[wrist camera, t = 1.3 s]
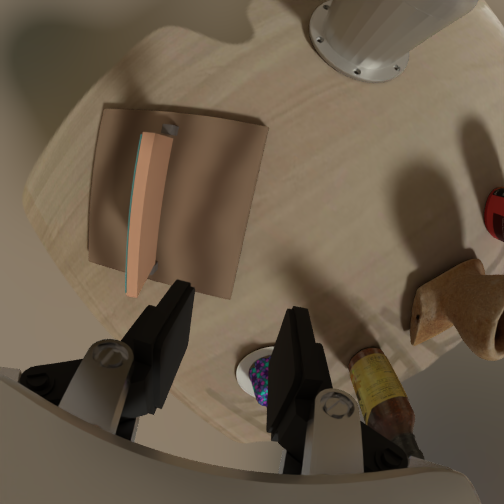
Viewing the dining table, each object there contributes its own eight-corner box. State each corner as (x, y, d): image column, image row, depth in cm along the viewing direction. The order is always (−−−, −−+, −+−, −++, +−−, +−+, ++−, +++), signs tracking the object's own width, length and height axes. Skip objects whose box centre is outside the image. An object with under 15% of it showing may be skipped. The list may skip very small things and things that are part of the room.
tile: (155, 133, 18) (140, 131, 18) (136, 297, 22) (124, 295, 22) (173, 138, 25) (162, 137, 25) (155, 263, 30) (145, 261, 30)
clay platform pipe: (478, 235, 29) (548, 273, 15) (478, 301, 32) (530, 350, 18) (399, 272, 31) (461, 337, 17) (406, 339, 35) (448, 409, 20)
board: (268, 129, 27) (268, 124, 24) (231, 294, 33) (228, 307, 30) (110, 110, 27) (95, 106, 24) (94, 257, 33) (81, 265, 30)
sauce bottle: (338, 364, 36) (367, 480, 18) (370, 338, 35) (420, 451, 16) (363, 381, 37) (394, 483, 19) (392, 357, 36) (439, 457, 17)
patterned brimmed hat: (332, 365, 37) (338, 390, 32) (281, 406, 40) (282, 429, 35) (269, 328, 35) (268, 353, 30) (221, 376, 39) (216, 401, 34)
